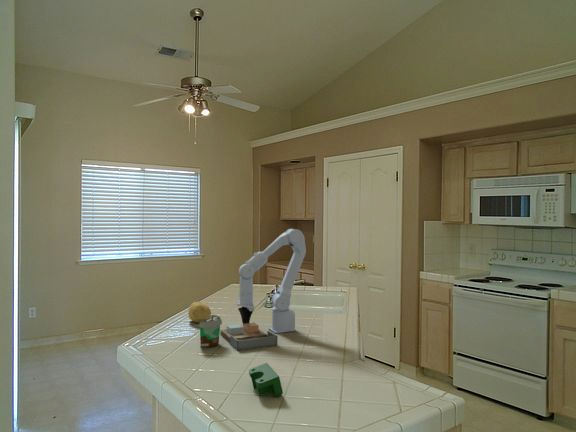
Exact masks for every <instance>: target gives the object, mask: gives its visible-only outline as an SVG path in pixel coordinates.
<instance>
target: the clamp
mask: <svg viewBox="0 0 576 432" xmlns="http://www.w3.org/2000/svg"><path fill="white" fill-rule="evenodd" d="M248 374H249V377H250V379H251V383H252V387H253V389H254V390H255V389H256V390H257V393H258V396H259V397H261V396H263V395H266V394H269V393H272V395H274V397H275V398H276V397H278V396H281V395H283V394H284V391H283V387H282V382H281V379H280V376H279V374H278V373H277V372H276V371H275V370H274V369H273V368H272V367H271V366H270V364H268V363H267V362H265V363H262V364H260V365H257V366H254V367H252V368H250V369H248ZM260 395H261V396H260Z"/></svg>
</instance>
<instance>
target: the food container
mask: <svg viewBox="0 0 576 432" xmlns="http://www.w3.org/2000/svg"><path fill="white" fill-rule="evenodd" d="M198 324H199V326H198V328H199V332H200V333H199V338H200V339H199V340H200V341H199V342H200V349H211V348H215V347H218V346H219V344H220V330H221V325H222V324H223V321H222V318H221V316H219V315H217V314H211V318H209V319H206V320H205V321H204V322H200V323H198Z"/></svg>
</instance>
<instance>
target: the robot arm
mask: <svg viewBox="0 0 576 432" xmlns="http://www.w3.org/2000/svg"><path fill="white" fill-rule="evenodd" d="M305 239H306V237H305V236H304V234H303V232H302V231H301V230H300V229H297V228H295V229H294V228H288V229H287V230H286V231H284V232H283V233H281V234H280V235H279V236H278V237H277V238H275V240H274V241H272V243H270V244H269V245H268V246H267V247H266V248H265V249H264V250H263V251H258V252H254V253H253V256H252V257H250V258H249V259H248V260H246V261H245V262H244V264H242V265H240V267H239V268H238V274H239V275H240V276H239V287H238V288H239V292H238V293H239V297H238V301H237V303H236V306H237V307H238V311H239V314H240V318H241V322H242V325H243V324H245V323H250V320H251V318H252V314H253V312H255V306H254V281H253V280H254V278H253V277H254V275H255V272H258V271H259V270H260V268H262V267H263V266H264V265H265V264H266V263H268V258H269V257H270V256H271V255H273V254H274V253H275V252H276V251H277V250H279V249H280V248H281V247H282V246H287V245H288V246H291V249H292V251H293V253H292V256H291V258H290V261H289V262H288V263H289V264H288V265H287V269H286V271H285V274H284V276H283V279H282V281H281V284H280V286H279V287H278V288H277V290H276V292H275V293H274V294H273V295H272V297H271V303H272V305H273V307H272V309H271V311H272V312H271V313H272V314H271V316H272V318H271V327H268V330H269V331H270V332H272V333H274V334H282V333H288V332H296V313H295V311H294V309H293V308H290V306H291V297H292V289H293V287H294V285H295V281H296V279H297V276H298V275H299V272H300V269H301V266H302V264H303V261H304V258H305V257H306V254H307V248H306V240H305Z"/></svg>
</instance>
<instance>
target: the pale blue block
mask: <svg viewBox="0 0 576 432" xmlns="http://www.w3.org/2000/svg"><path fill="white" fill-rule="evenodd" d="M242 327H243V325H242V326H241V325H240V324H237V323H236V324H228V325H226V329H227V332H228V333H229V334H230V335H233V334H241V333H242Z"/></svg>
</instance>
